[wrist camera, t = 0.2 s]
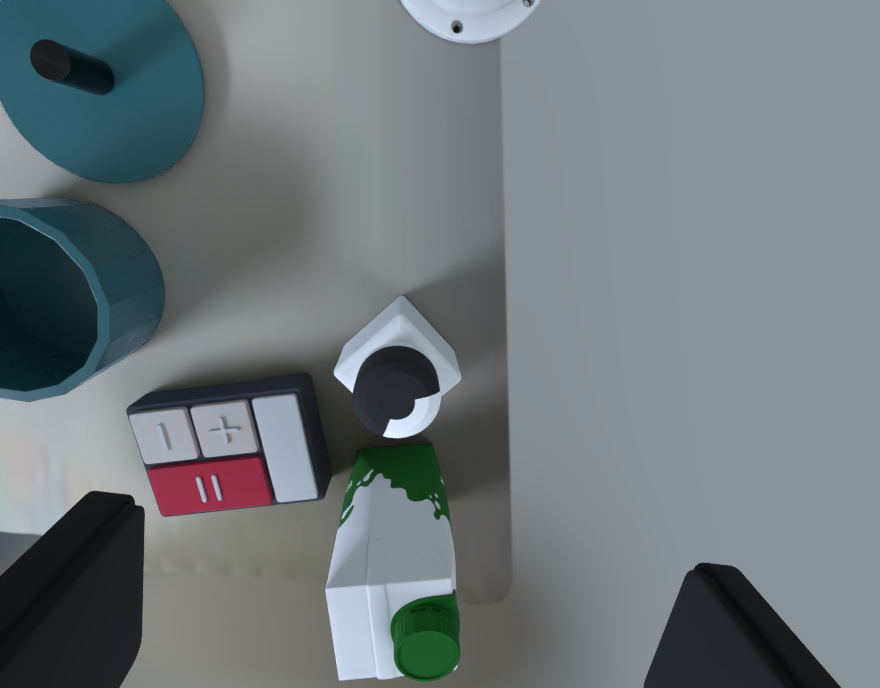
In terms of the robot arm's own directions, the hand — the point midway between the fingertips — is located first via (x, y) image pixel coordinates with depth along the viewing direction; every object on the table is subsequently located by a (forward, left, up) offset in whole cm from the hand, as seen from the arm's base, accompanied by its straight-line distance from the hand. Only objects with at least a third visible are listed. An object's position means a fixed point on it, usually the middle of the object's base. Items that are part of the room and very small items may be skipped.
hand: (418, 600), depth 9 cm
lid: (-10, -25, -36) cm, 45 cm away
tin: (+6, -27, -36) cm, 46 cm away
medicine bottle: (+7, 0, -37) cm, 37 cm away
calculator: (+18, -13, -37) cm, 43 cm away
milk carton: (+20, +2, -37) cm, 42 cm away
